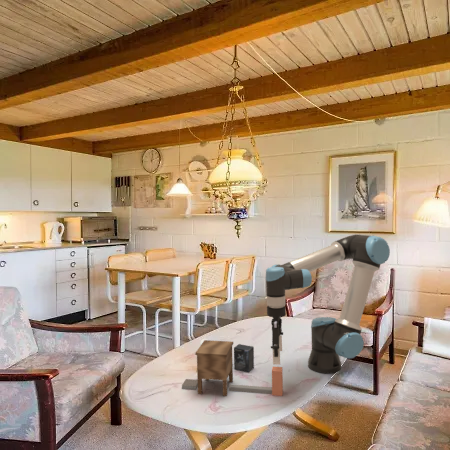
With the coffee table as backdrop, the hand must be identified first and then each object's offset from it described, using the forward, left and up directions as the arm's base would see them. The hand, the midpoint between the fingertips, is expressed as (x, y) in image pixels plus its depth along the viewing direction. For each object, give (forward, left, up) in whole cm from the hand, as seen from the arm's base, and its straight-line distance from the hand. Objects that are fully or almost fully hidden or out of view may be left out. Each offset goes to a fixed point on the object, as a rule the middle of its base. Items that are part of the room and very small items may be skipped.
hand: (277, 357), depth 159 cm
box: (+17, -21, -15) cm, 31 cm away
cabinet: (+26, -1, -15) cm, 30 cm away
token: (+37, 0, -15) cm, 40 cm away
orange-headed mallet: (+9, 0, -15) cm, 18 cm away
